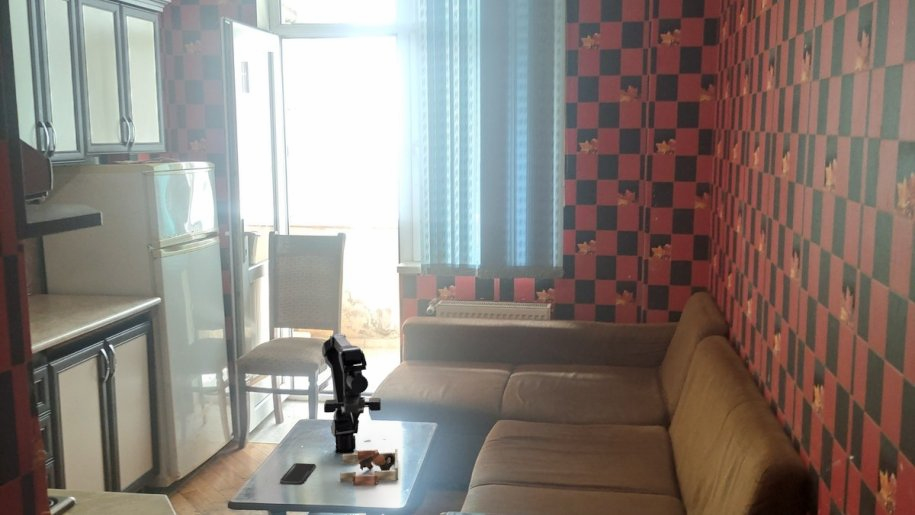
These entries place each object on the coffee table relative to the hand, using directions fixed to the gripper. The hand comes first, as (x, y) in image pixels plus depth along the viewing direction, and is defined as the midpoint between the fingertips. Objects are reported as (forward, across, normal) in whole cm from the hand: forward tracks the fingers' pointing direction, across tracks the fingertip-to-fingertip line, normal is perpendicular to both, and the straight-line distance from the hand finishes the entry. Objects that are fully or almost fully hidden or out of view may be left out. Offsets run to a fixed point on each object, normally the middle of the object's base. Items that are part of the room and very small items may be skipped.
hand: (353, 429), depth 277 cm
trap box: (+12, +6, -7) cm, 15 cm away
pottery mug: (+12, +8, -9) cm, 17 cm away
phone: (+13, -18, -7) cm, 23 cm away
